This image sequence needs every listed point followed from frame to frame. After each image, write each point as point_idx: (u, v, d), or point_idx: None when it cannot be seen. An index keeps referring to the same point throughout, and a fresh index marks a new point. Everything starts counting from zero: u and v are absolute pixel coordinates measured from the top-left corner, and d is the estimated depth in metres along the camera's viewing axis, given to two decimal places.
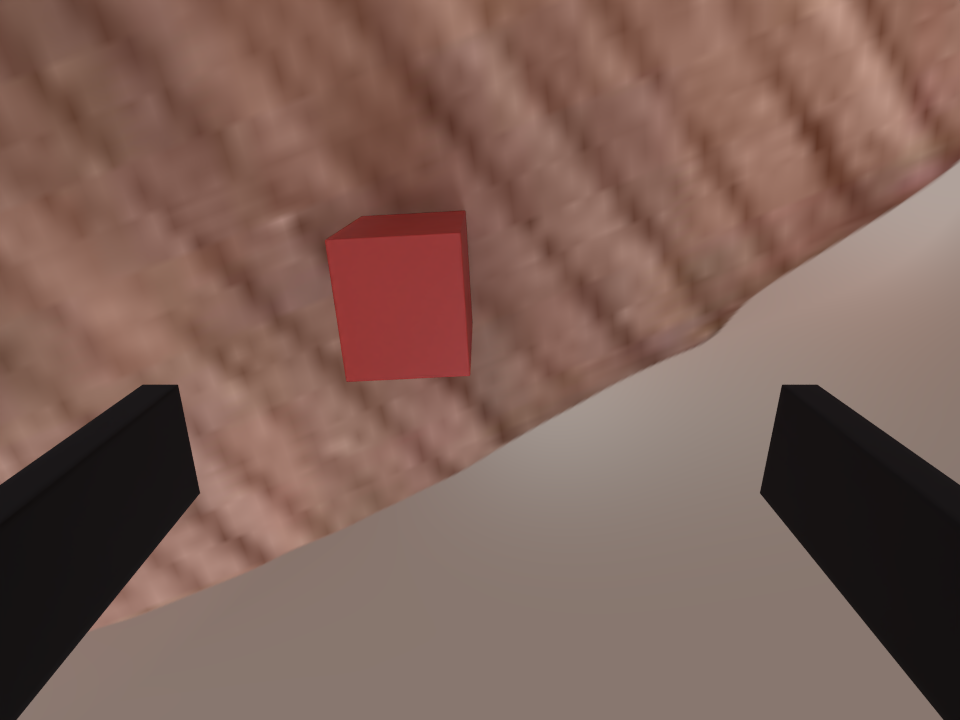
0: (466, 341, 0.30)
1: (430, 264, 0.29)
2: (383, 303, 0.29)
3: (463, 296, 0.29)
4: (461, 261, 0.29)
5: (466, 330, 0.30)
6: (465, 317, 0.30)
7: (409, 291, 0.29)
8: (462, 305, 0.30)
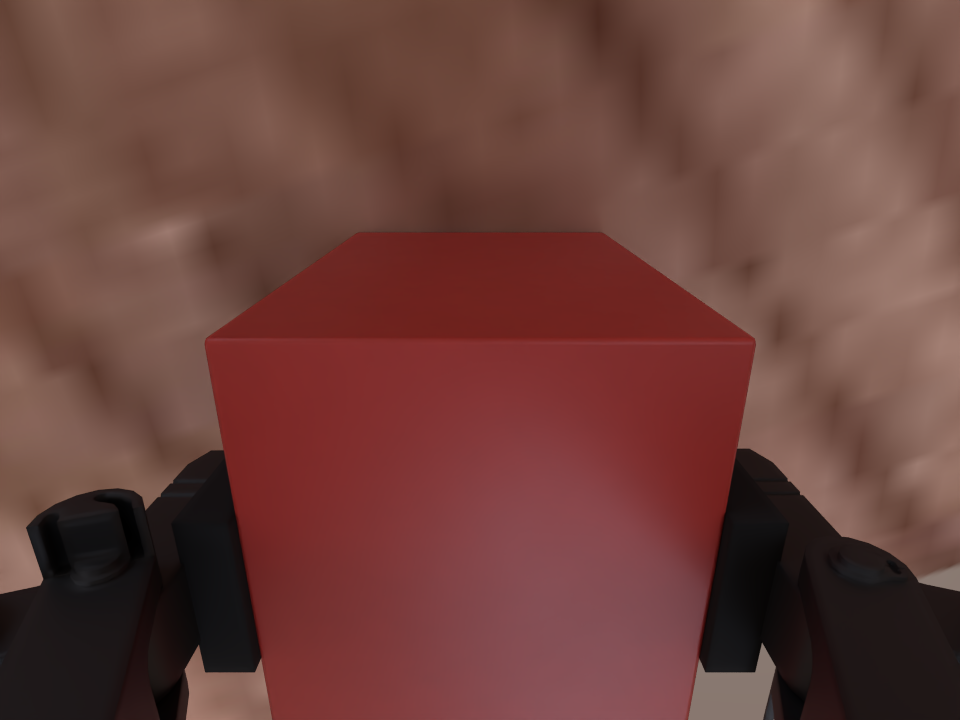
0: (691, 684, 0.09)
1: (614, 449, 0.07)
2: (422, 565, 0.08)
3: (713, 557, 0.08)
4: (734, 444, 0.07)
5: (697, 653, 0.09)
6: (704, 618, 0.09)
7: (519, 532, 0.08)
8: (702, 584, 0.08)
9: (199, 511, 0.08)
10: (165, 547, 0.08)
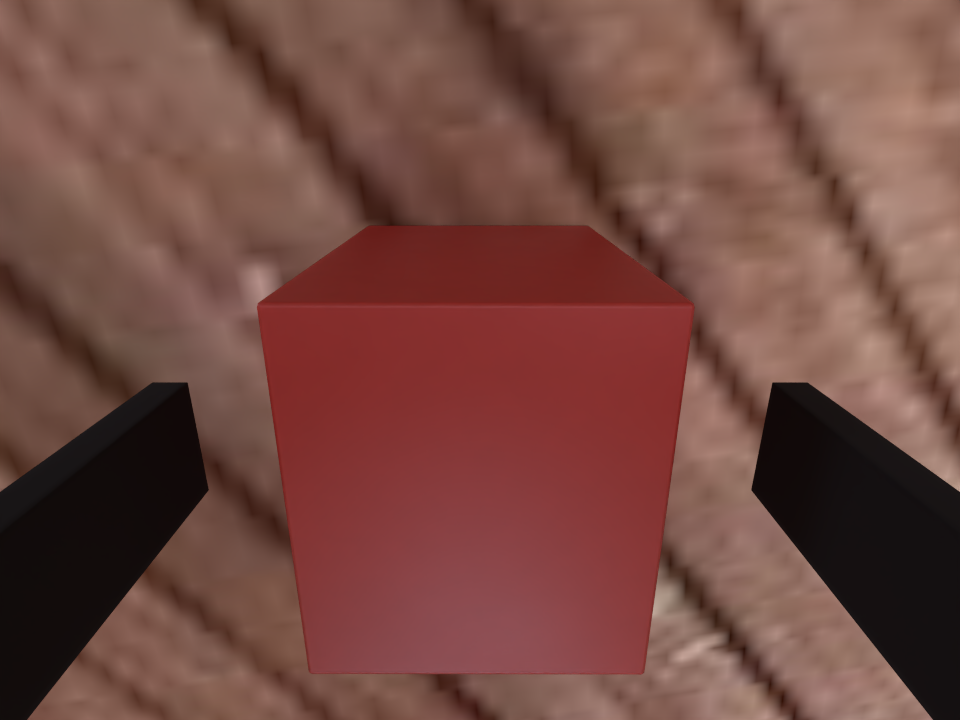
0: (651, 597, 0.11)
1: (583, 394, 0.09)
2: (429, 493, 0.10)
3: (666, 485, 0.10)
4: (680, 390, 0.09)
5: (656, 570, 0.11)
6: (660, 539, 0.10)
7: (508, 464, 0.10)
8: (658, 509, 0.10)
9: None
10: None
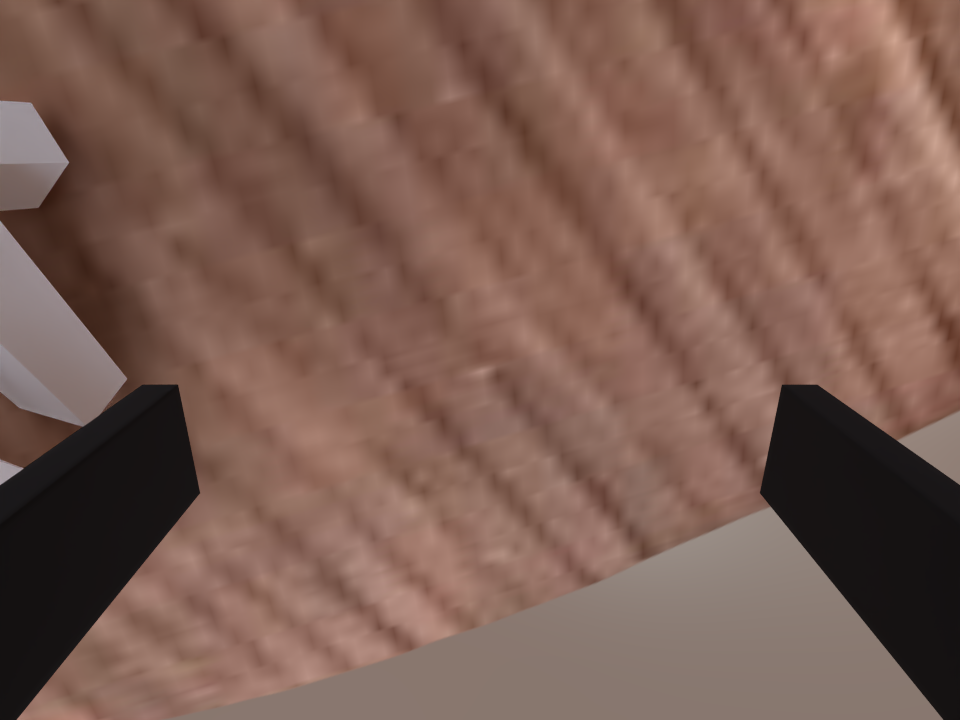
0: None
1: None
2: None
3: None
4: None
5: None
6: None
7: None
8: None
9: None
10: None
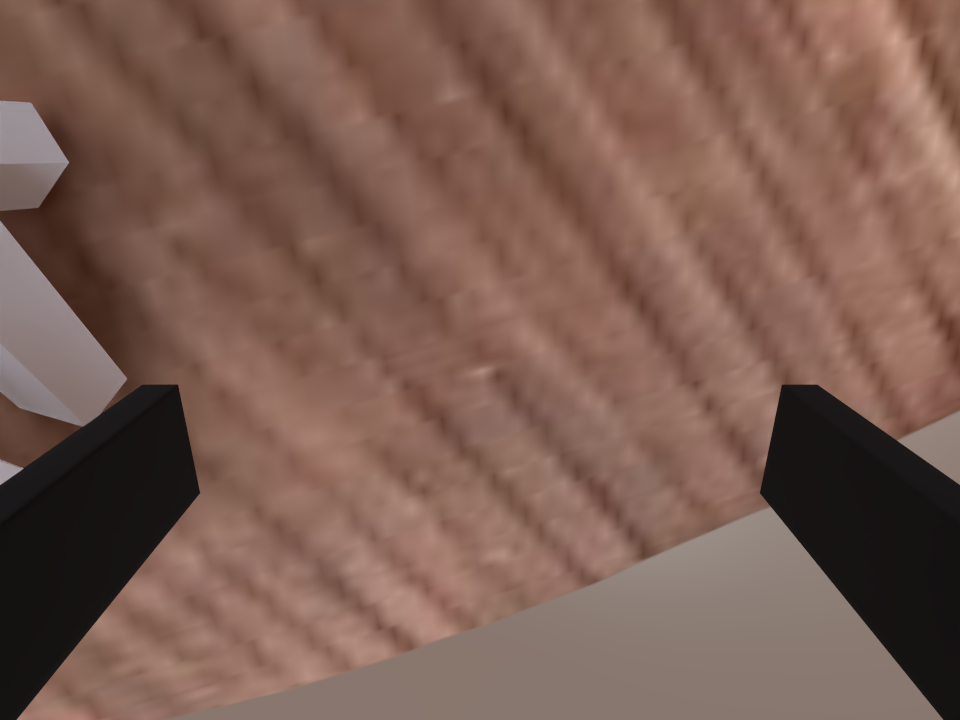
0: None
1: None
2: None
3: None
4: None
5: None
6: None
7: None
8: None
9: None
10: None
